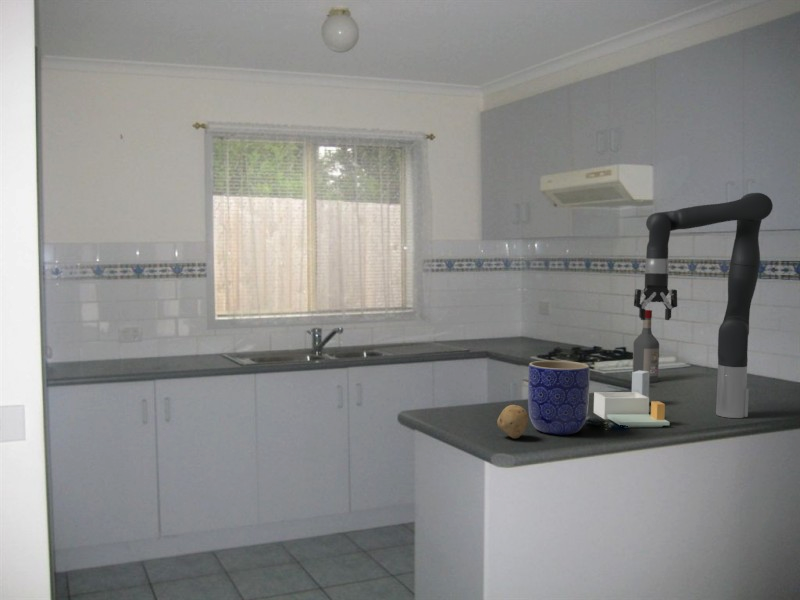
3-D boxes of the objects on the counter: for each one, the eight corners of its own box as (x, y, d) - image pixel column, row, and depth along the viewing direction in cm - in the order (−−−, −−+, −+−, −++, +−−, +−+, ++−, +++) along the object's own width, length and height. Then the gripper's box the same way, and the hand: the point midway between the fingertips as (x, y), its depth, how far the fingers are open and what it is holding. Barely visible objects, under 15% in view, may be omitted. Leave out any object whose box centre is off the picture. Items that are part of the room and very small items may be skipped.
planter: (554, 422, 273) (556, 358, 272) (600, 432, 259) (602, 365, 258) (514, 429, 262) (516, 363, 260) (560, 440, 248) (562, 370, 246)
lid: (654, 421, 279) (655, 399, 278) (669, 429, 267) (670, 406, 266) (607, 421, 277) (607, 399, 277) (619, 429, 265) (620, 406, 265)
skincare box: (637, 402, 309) (638, 370, 308) (648, 404, 306) (650, 371, 305) (630, 405, 304) (631, 372, 303) (641, 406, 301) (643, 373, 301)
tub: (636, 412, 291) (636, 392, 291) (648, 419, 280) (649, 398, 280) (593, 412, 290) (594, 392, 289) (604, 419, 279) (605, 398, 278)
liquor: (660, 381, 357) (663, 310, 355) (646, 383, 352) (649, 311, 349) (643, 378, 364) (645, 309, 362) (629, 380, 359) (631, 309, 357)
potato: (493, 440, 247) (494, 406, 247) (501, 433, 256) (502, 400, 255) (524, 443, 244) (525, 408, 244) (531, 436, 253) (531, 403, 252)
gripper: (672, 271, 290) (670, 319, 291) (632, 271, 289) (630, 318, 290) (681, 272, 283) (679, 321, 284) (640, 272, 281) (638, 320, 282)
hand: (654, 319), depth 287 cm, fingers open, 8 cm apart
